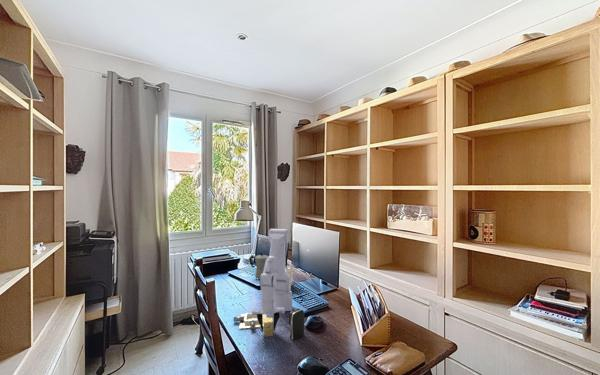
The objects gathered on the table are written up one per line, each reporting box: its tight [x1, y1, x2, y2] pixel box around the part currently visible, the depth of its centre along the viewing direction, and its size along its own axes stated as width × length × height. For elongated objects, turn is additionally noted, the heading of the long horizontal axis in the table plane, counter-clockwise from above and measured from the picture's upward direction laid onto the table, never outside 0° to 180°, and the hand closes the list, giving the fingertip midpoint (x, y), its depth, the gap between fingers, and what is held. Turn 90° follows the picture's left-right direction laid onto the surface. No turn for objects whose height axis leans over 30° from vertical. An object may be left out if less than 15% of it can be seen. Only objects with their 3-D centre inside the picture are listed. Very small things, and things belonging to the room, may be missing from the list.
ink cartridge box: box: [285, 263, 294, 285], centre depth 169 cm, size 9×5×15 cm, turn 148°
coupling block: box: [263, 317, 274, 337], centre depth 117 cm, size 4×5×6 cm
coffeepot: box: [248, 252, 269, 280], centre depth 187 cm, size 15×9×18 cm, turn 88°
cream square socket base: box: [233, 312, 268, 331], centre depth 126 cm, size 16×15×3 cm
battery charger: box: [288, 308, 305, 341], centre depth 115 cm, size 7×4×11 cm, turn 134°
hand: (268, 329), depth 117 cm, fingers open, 5 cm apart
